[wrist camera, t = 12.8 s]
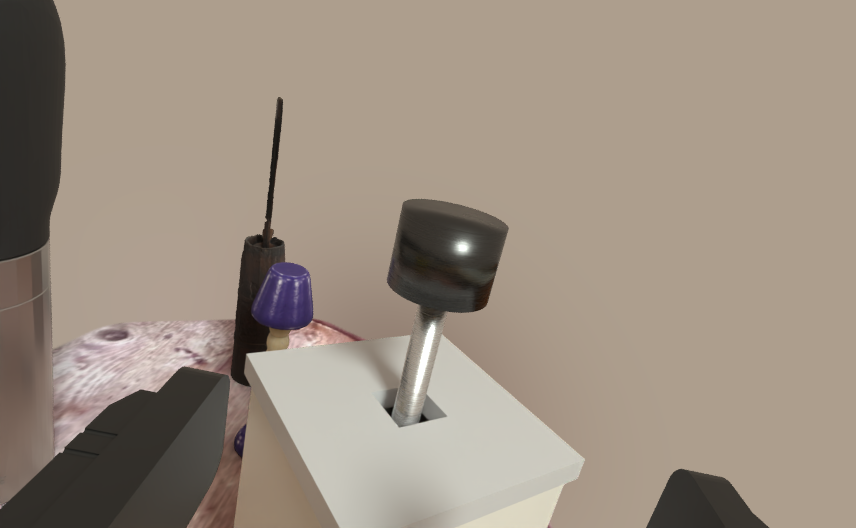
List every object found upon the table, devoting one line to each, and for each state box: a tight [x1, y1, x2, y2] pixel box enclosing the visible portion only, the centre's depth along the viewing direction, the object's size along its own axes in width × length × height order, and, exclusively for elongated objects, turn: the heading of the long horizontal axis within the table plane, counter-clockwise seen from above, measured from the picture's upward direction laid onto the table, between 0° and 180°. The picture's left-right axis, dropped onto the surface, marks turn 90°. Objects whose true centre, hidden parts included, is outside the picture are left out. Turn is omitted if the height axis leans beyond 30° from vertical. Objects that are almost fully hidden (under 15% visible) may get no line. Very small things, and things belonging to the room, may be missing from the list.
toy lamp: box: [234, 262, 313, 457], centre depth 41 cm, size 5×5×17 cm
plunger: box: [387, 199, 508, 428], centre depth 23 cm, size 8×8×26 cm
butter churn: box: [231, 97, 285, 386], centre depth 50 cm, size 9×10×28 cm
